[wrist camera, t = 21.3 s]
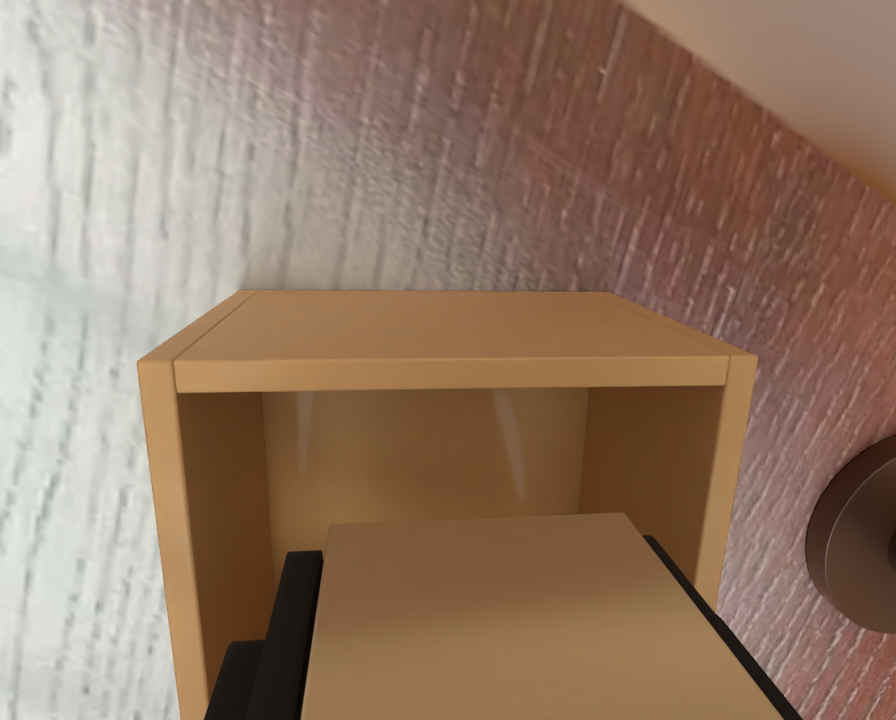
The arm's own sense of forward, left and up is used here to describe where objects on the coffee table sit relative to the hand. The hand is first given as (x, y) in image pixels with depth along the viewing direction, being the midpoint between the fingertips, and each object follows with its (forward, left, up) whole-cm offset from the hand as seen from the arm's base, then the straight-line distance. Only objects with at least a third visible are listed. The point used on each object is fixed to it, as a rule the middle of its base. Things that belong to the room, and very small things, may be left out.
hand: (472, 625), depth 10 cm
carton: (+2, +1, -9) cm, 10 cm away
